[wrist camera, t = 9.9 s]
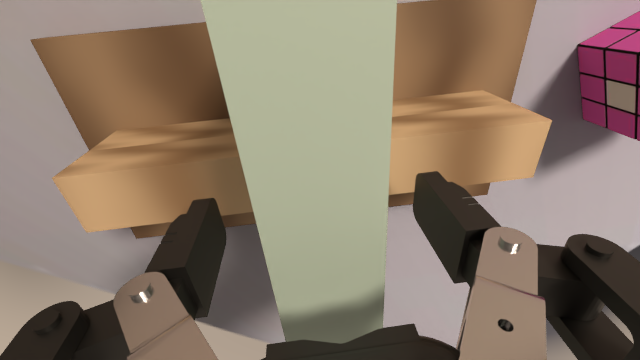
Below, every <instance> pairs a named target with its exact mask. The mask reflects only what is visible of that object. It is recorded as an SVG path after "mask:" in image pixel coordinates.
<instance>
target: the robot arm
mask: <svg viewBox="0 0 640 360" xmlns="http://www.w3.org/2000/svg"><path fill="white" fill-rule="evenodd" d="M413 212H414V216H415V219H416V221H417V223H418V224H419V226H420V227H421V229H422V231H423V232H424V234H425V236H426V237H427V239H428V241H429V242H430V244H431V246H432V247H433V249H434V251H435V252H436V254H437V256H438V257H439V259H440V261H441V262H442V264H443V266H444V267H445V269H446V271H447V272H448V274H449V276H450V277H451V279H452V281H453V282H454V284H455V283H462V282H467V283H468V284H469V286H470V289H469V293H468V297H467V302H466V306H465V311H464V315H463V320H462V324H461V329H460V333H459V338H458V342H457V346H456V348H454V347H452V346H450V345H448V344H446V343H444V342H442V341H439V340H436V339H433V338H429V337H425V336H419V335H418V332H417V330H416V327H415V325H414V324H408V325H401V326H394V327H387V328H380V329H377V330H374V331H372V332H370V333H367V334H365V335H363V336H360V337H358V338H356V339H353V340H351V341H349V342H346V343H342V344H339V343H330V342H322V341H313V340H304V339H303V340H296V341H289V342H282V343H275V344H268V345H267V350H266V358H264V359H261V360H547V353H546V352H547V351H546V318H547V320H548V321H549V322H550V324H551V325H552V326H553V327H554V329H555V330H556V331H557V333H558V334H559V335H560V337H561V338H562V339H563V341H564V342H565V343H566V345H567V346H568V347H569V349H570V350H571V351H572V353H574V355H575V356H576V358H577V359H578V360H640V262H639V261H638V260H637V259H635V258H634V257H633V256H632V255H630V254H629V253H628V252H626V251H625V250H624V249H623V248H621V247H620V246H618V245H617V244H615V243H613V242H611V241H609V240H606V239H604V238H601V237H598V236H593V235H587V234H577V235H573V236H571V237H569V239H568V240H567V242H566V244H565V247H560V246H550V245H540V244H536V243H535V242H534V240H533V239H532V238H530V237H529V236H528V235H526V234H525V233H523V232H521V231H518V230H516V229H512V228H508V227H501V226H500V225H499V224H498V223H497V222H496V221H495V219H494V218H493V217H492V216H491V215H490V214H489V213H488V212H487V211H486V210H485V209H484V208H483V207H482V206H481V205H480V204H478V202H477V201H476V200H475V199H474V198H472V196H471V195H470V194H469V193H468V192H467V191H466V190H465V189H464V188H463V187H461V186H459V185H457V184H456V183H454V182H447V181H446V179H445V178H444V177H443V176H442V175H441V174H440V173H439V172H438V171H433V172H425V173H418V174H417V175H416V180H415V190H414V200H413ZM225 245H226V230H225V226H224V223H223V220H222V217H221V214H220V211H219V208H218V205H217V202H216V200H215V198H206V199H198V200H193V201H192V203H191V205H190V207H189V209H188V211H187V214H181V215H180V216H178V217H177V218H176V219H175V220H174V221H173V222H172V223H171V224H170V226H169V228H168V230H167V231H166V233H165V236H164V237H163V239H162V241H161V244H160V245H159V247H158V248H157V250H156V252H155V254H154V256H153V258H152V260H151V262H150V264H149V265H148V267H147V269H146V271H145V273H144V274H141V275H139V276H137V277H135V278H133V279H131V280H130V281H128V282H127V283H126V284H125V285H123V286H122V287H121V288H120V289H119V291H118V292H117V294H116V295H115V298H114V300H111V301H109V302H106V303H103V304H101V305H98V306H95V307H93V308H90V309H87V310H84V311H83V309H82V308H81V307H80V305H79V304H78V303H76V302H73V301H66V302H61V303H58V304H55V305H52V306H50V307H48V308H46V309H44V310H42V311H41V312H39V313H38V314H36V315H35V316H34V317H32V318H31V319H30V320H29V321H28V322H27V323H26V324H25V325H24V326H23V327H22V328H21V329H20V331H19V332H18V334H17V335H16V336H15V337H14V339H13V340H12V341H11V343H10V344H9V345H8V347H7V348H6V349H5V350H4V352H3V353H2V354H1V356H0V360H218V359H217V357H216V356H215V354H214V352H213V350H212V349H211V347H210V346H209V344H208V343H207V341H206V339H205V338H204V336H203V334H202V333H201V331H200V329H199V328H198V326H197V324H196V323H195V321H194V320H195V318H201V317H207V316H208V312H209V308H210V304H211V300H212V296H213V292H214V288H215V284H216V281H217V277H218V273H219V269H220V265H221V261H222V257H223V253H224V249H225ZM605 305H606V306H607V307H608V308H609V309H610V310H611V311H612V312H613V313H614V314H615V315H616V316H617V317H618V318H619V319H620V320H621V321H622V322H623V323H624V324H625V325H626V326H627V328H628V329H629V330H630V332H631V334H632V336H633V340H634V344H633V343H632V342H631V341H630V340H629V339H628V338H627V337H626V336H625V335H624V334H623V333H622V332H621V331H620V329H619V328H618V327H617V326H616V325H615V324H614V323H613V322H612V321H611V320H610V319H609V318H608V317H607V316H606V315H605V314H604V313H603V312H602V311H601V310H602V309H603V307H604V306H605Z"/></svg>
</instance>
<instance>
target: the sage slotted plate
mask: <svg viewBox="0 0 640 360" xmlns="http://www.w3.org/2000/svg"><path fill="white" fill-rule="evenodd" d="M201 4H202V8H203V12H204V16H205V20H206V24H207V28H208V32H209V36H210V40H211V44H212V48H213V52H214V56H215V60H216V64H217V68H218V72H219V76H220V80H221V84H222V88H223V92H224V96H225V100H226V104H227V108H228V112H229V116H230V120H231V124H232V128H233V132H234V136H235V140H236V144H237V148H238V152H239V156H240V160H241V164H242V168H243V172H244V176H245V180H246V184H247V188H248V192H249V196H250V200H251V204H252V208H253V212H254V216H255V220H256V224H257V228H258V232H259V236H260V240H261V244H262V248H263V252H264V256H265V260H266V264H267V268H268V272H269V276H270V280H271V284H272V288H273V292H274V296H275V300H276V304H277V308H278V312H279V316H280V320H281V324H282V328H283V332H284V336H285V340H286V342H289V341H296V340H303V339H304V340H313V341H322V342H330V343H339V344H342V343H346V342H349V341H351V340H353V339H356V338H358V337H360V336H363V335H365V334H367V333H370V332H372V331H374V330H377V329H380V328H383V312H384V289H385V266H386V242H387V219H388V196H389V173H390V150H391V127H392V104H393V81H394V58H395V35H396V12H397V0H201Z"/></svg>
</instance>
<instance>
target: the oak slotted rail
mask: <svg viewBox="0 0 640 360" xmlns="http://www.w3.org/2000/svg"><path fill="white" fill-rule="evenodd" d="M535 4H536V0H430V1H420V2H410V3H399V4H397V12H396V35H395V58H394V81H393V104H392V127H391V150H390V173H389V196H388V207H392V206H400V205H408V204H413V200H414V190H415V180H416V175H417V174H418V173H425V172H433V171H438V172H439V173H440V174H441V175H442V176H443V177H444V178H445V179H446V181H447V182H454V183H456V184H457V185H459V186H461V187H463V188H464V189H465V190H466V191H467V192H468V193H469V194H470V195H471V196H479V195H487V194H488V190H489V186H490V182H498V181H506V180H514V179H522V178H530V177H533V176H534V173H535V170H536V167H537V164H538V161H539V158H540V155H541V152H542V149H543V146H544V143H545V140H546V137H547V134H548V131H549V128H550V126H551V123H552V120H550V119H548V118H546V117H543V116H541V115H539V114H537V113H534V112H532V111H530V110H527V109H525V108H523V107H520V106H518V105H516V104H514V103H511V99H512V95H513V91H514V87H515V83H516V79H517V75H518V71H519V67H520V64H521V60H522V56H523V52H524V48H525V44H526V40H527V36H528V32H529V28H530V24H531V20H532V16H533V12H534V8H535ZM31 42H32V44H33V46H34V48H35V49H36V51H37V53H38V55H39V57H40V59H41V61H42V63H43V64H44V66H45V68H46V70H47V72H48V74H49V76H50V78H51V79H52V81H53V83H54V85H55V87H56V89H57V91H58V93H59V94H60V96H61V98H62V100H63V102H64V104H65V106H66V108H67V109H68V111H69V113H70V115H71V117H72V119H73V121H74V123H75V124H76V126H77V128H78V130H79V132H80V134H81V136H82V138H83V139H84V141H85V143H86V145H87V147H88V149H89V151H88V152H87V153H85V154H84V155H83V156H81V157H80V158H79V159H77V160H76V161H75V162H73V163H72V164H71V165H69V166H68V167H67V168H65V169H64V170H62V171H61V172H60V173H58V174H57V175H56V176H54V177H53V178H52V179H53V181H54V182H55V184H56V185H57V187H58V189H59V190H60V192H61V193H62V195H63V196H64V198H65V199H66V201H67V203H68V204H69V206H70V207H71V209H72V210H73V212H74V214H75V215H76V217H77V218H78V220H79V221H80V223H81V224H82V226H83V228H84V229H85V231H86V232H94V231H103V230H111V229H119V228H127V227H131V229H132V231H133V233H134V235H135V237H136V239H137V238H145V237H153V236H161V235H165V233H166V231H167V230H168V228H169V226H170V224H171V223H172V222H173V221H174V220H175V219H176V218H177V217H178V216H180V215H181V214H187V211H188V209H189V207H190V205H191V203H192V201H193V200H198V199H206V198H215V200H216V202H217V205H218V208H219V211H220V214H221V217H222V220H223V223H224V226H225V227H232V226H240V225H248V224H256V220H255V216H254V212H253V208H252V204H251V200H250V196H249V192H248V188H247V184H246V180H245V176H244V172H243V168H242V164H241V160H240V156H239V152H238V148H237V144H236V140H235V136H234V132H233V128H232V124H231V120H230V116H229V112H228V108H227V104H226V100H225V96H224V92H223V88H222V84H221V80H220V76H219V72H218V68H217V64H216V60H215V56H214V52H213V48H212V44H211V40H210V36H209V32H208V28H207V24H206V22H203V23H192V24H182V25H172V26H161V27H151V28H141V29H130V30H120V31H110V32H99V33H89V34H78V35H68V36H58V37H47V38H39V39H32V40H31Z"/></svg>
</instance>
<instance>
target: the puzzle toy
mask: <svg viewBox="0 0 640 360" xmlns="http://www.w3.org/2000/svg"><path fill="white" fill-rule="evenodd" d="M578 60H579V71H580V85H581V96H582V111H583V119H584V120H586V121H589V122H592V123H594V124H597V125H599V126H602V127H605V128H608V129H610V130H612V131H615V132H617V133H620V134H623V135H625V136H628V137H630V138H633V139H637V140H638V141H640V11H639V12H637V13H635V14H633V15H632V16H630V17H628V18H626V19H624V20H622V21H621V22H619V23H617V24H615V25H613V26H612V27H610V28H608V29H606V30H604V31H602V32H600V33H598V34H597V35H595V36H593V37H591V38H589V39H587V40H586V41H584V42H582V43H580V44H578Z"/></svg>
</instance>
